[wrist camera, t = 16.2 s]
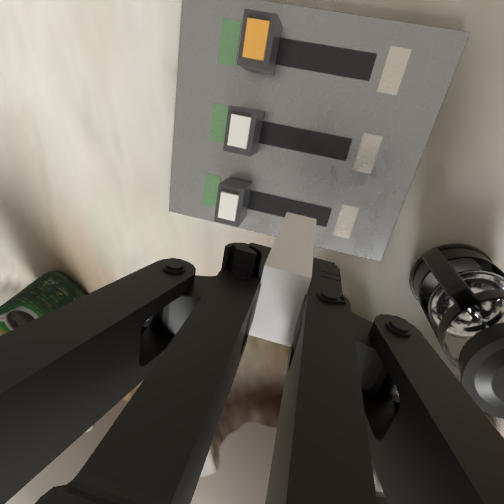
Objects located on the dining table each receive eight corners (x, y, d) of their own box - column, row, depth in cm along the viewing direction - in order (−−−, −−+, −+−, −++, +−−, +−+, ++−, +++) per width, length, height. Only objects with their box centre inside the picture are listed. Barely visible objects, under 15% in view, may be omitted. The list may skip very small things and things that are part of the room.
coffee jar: (35, 286, 55) (-90, 361, 38) (57, 262, 52) (-69, 332, 35) (77, 325, 57) (-26, 413, 40) (100, 304, 54) (0, 389, 37)
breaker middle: (257, 152, 37) (249, 156, 33) (232, 147, 37) (221, 151, 33) (264, 111, 35) (257, 110, 31) (238, 106, 35) (227, 105, 31)
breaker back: (246, 216, 40) (237, 228, 36) (223, 211, 40) (212, 222, 37) (252, 182, 38) (243, 190, 34) (228, 177, 39) (217, 184, 35)
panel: (378, 256, 41) (380, 262, 39) (173, 208, 44) (168, 211, 42) (463, 36, 30) (470, 32, 29) (188, -7, 34) (182, -13, 32)
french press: (512, 288, 39) (726, 489, 18) (439, 325, 43) (546, 524, 22) (458, 217, 37) (628, 351, 16) (386, 262, 41) (450, 416, 20)
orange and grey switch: (273, 75, 33) (266, 69, 29) (246, 70, 34) (235, 64, 30) (282, 25, 31) (276, 12, 28) (253, 20, 32) (243, 7, 28)
